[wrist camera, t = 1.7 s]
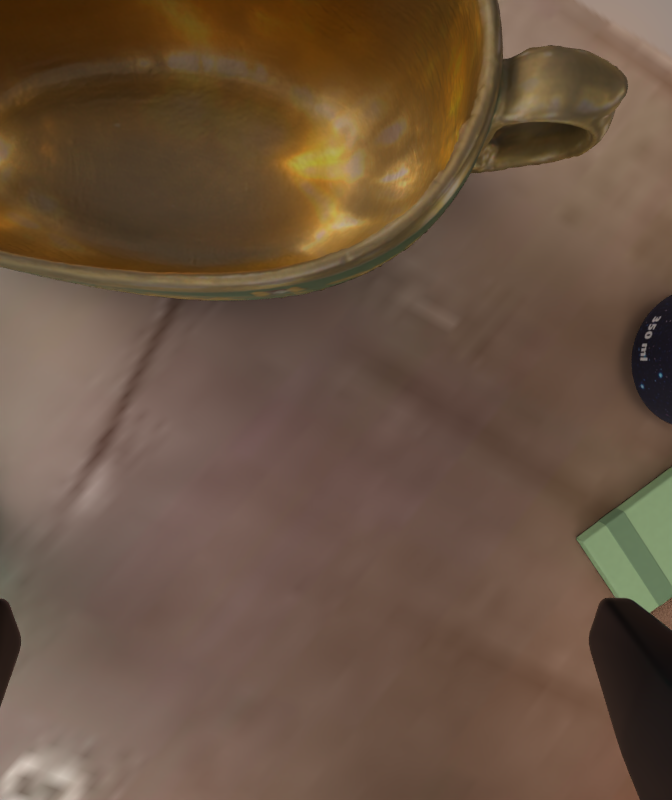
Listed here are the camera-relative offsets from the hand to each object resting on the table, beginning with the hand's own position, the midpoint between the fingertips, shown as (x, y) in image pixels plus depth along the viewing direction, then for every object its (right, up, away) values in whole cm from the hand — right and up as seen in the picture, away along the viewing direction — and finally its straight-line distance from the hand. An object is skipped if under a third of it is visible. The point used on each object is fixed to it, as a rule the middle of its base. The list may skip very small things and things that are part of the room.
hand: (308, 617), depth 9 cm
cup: (-5, +12, +13) cm, 18 cm away
